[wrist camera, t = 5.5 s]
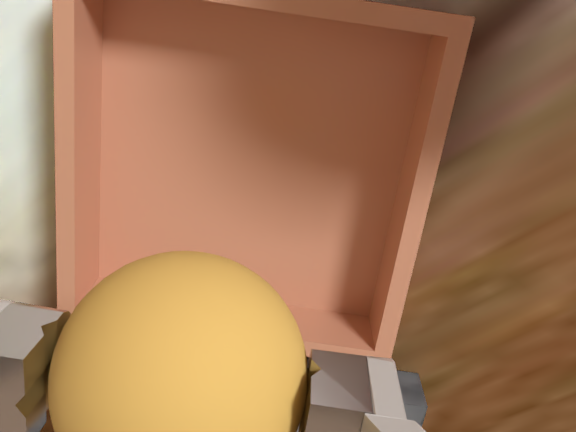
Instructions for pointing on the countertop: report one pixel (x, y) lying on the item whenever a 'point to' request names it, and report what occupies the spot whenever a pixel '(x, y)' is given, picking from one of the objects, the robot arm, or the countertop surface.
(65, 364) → the ball
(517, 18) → the countertop surface
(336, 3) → the dish
